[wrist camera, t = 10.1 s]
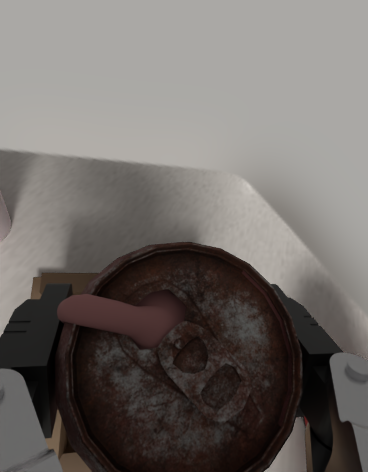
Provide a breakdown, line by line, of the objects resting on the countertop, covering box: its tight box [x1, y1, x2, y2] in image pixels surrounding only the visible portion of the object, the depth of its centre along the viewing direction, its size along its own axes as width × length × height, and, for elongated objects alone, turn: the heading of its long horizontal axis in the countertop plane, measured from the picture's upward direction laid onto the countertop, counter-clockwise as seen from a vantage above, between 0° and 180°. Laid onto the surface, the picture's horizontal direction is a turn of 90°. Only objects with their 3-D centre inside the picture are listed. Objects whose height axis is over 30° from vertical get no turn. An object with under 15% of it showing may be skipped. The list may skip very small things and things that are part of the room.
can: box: [55, 242, 303, 472], centre depth 13 cm, size 6×6×14 cm
